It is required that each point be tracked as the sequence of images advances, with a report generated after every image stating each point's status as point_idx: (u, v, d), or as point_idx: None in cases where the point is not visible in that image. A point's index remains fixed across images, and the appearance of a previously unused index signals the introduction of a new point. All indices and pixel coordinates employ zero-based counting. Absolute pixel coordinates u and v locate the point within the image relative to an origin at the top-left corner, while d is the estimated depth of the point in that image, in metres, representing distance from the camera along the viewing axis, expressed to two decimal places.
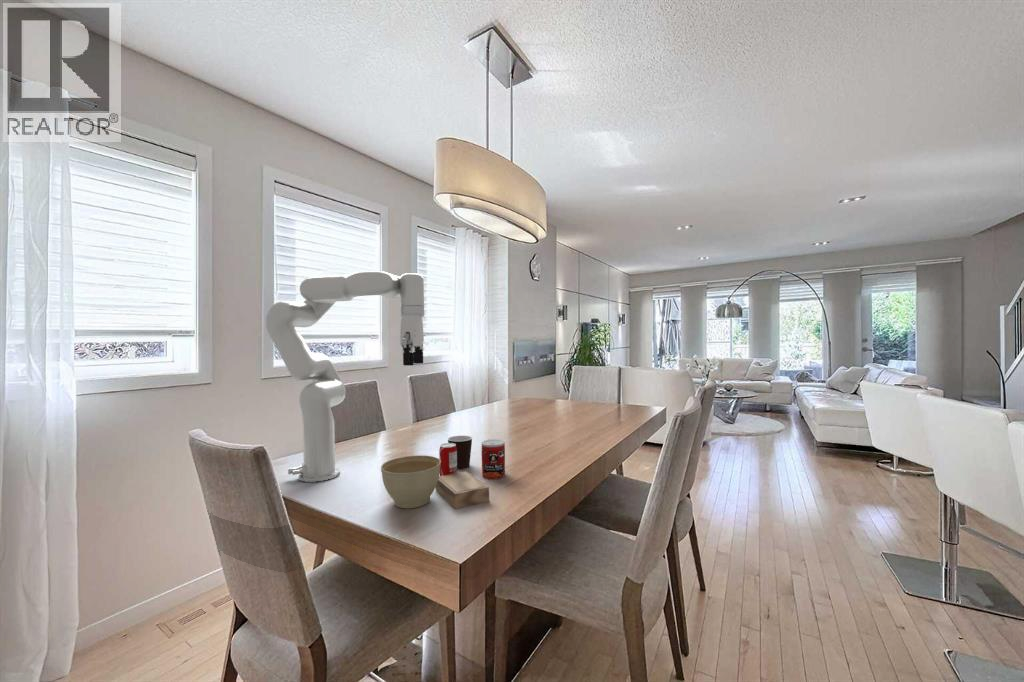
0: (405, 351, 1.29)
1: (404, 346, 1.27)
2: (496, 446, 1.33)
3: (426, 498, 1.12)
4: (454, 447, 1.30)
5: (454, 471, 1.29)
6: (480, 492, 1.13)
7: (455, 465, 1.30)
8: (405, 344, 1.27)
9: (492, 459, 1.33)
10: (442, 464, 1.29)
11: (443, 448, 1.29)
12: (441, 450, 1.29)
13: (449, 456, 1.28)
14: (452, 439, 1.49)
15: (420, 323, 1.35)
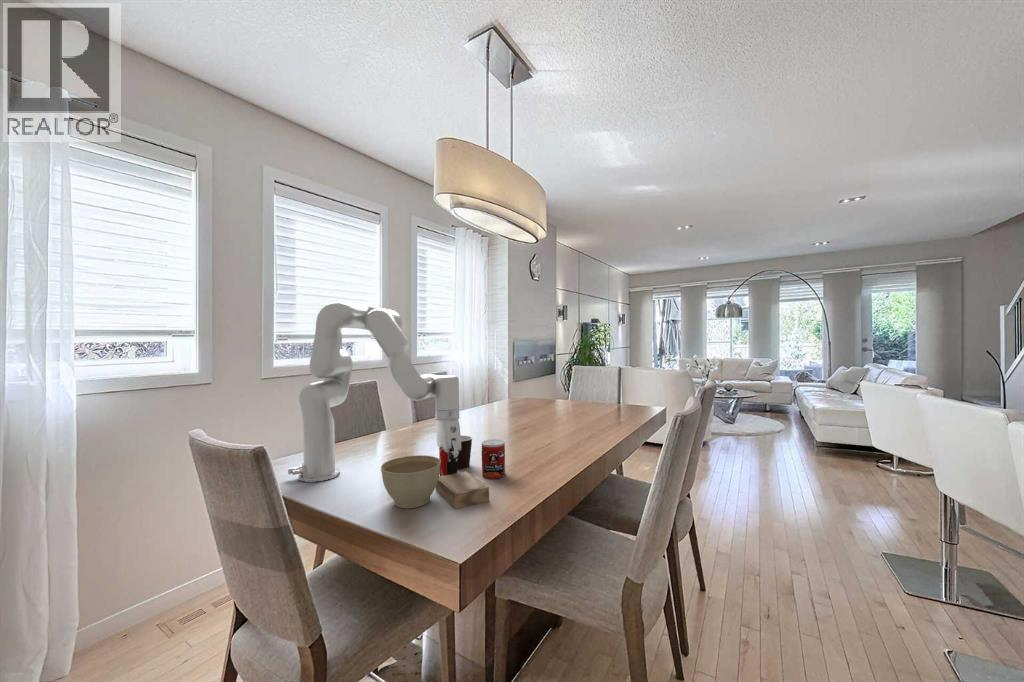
0: None
1: None
2: (496, 446, 1.33)
3: (426, 498, 1.12)
4: None
5: None
6: (480, 492, 1.13)
7: None
8: None
9: (492, 459, 1.33)
10: (442, 464, 1.29)
11: None
12: (441, 450, 1.29)
13: None
14: None
15: (440, 427, 1.29)
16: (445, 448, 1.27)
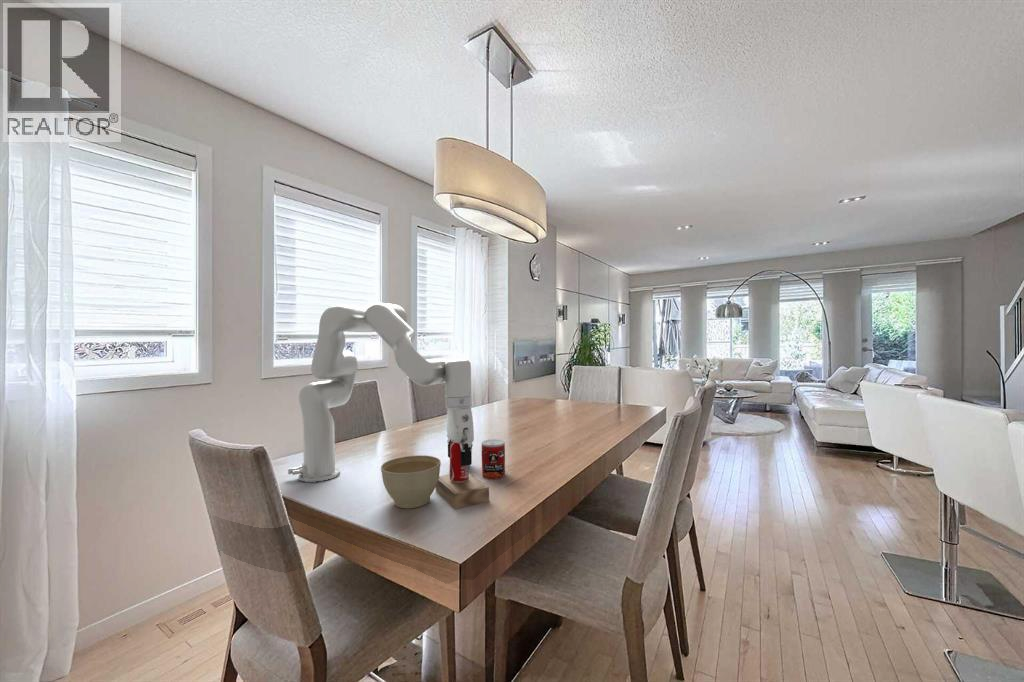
0: None
1: None
2: (496, 446, 1.33)
3: (426, 498, 1.12)
4: None
5: (466, 468, 1.18)
6: (480, 492, 1.13)
7: None
8: None
9: (492, 459, 1.33)
10: (453, 460, 1.18)
11: (454, 443, 1.18)
12: (452, 445, 1.18)
13: None
14: None
15: (450, 416, 1.18)
16: (456, 439, 1.16)
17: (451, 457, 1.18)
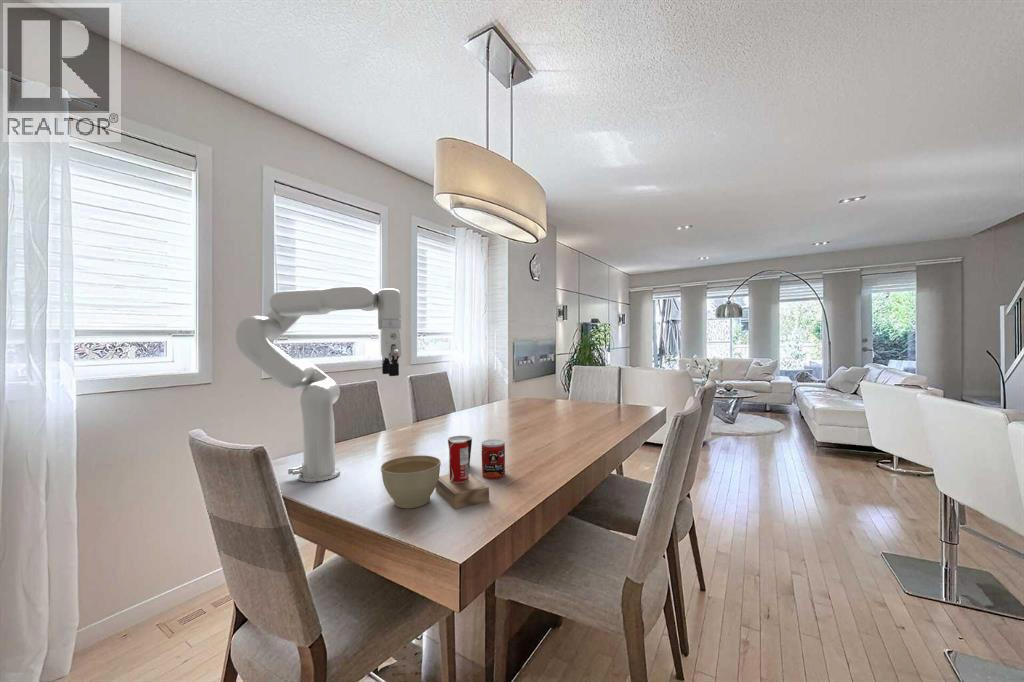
0: None
1: None
2: (496, 446, 1.33)
3: (426, 498, 1.12)
4: (465, 442, 1.19)
5: (465, 469, 1.18)
6: (480, 492, 1.13)
7: (466, 462, 1.19)
8: None
9: (492, 459, 1.33)
10: (452, 461, 1.18)
11: (453, 443, 1.18)
12: (451, 446, 1.18)
13: (460, 452, 1.17)
14: None
15: (382, 336, 1.40)
16: (386, 354, 1.38)
17: (450, 458, 1.18)
